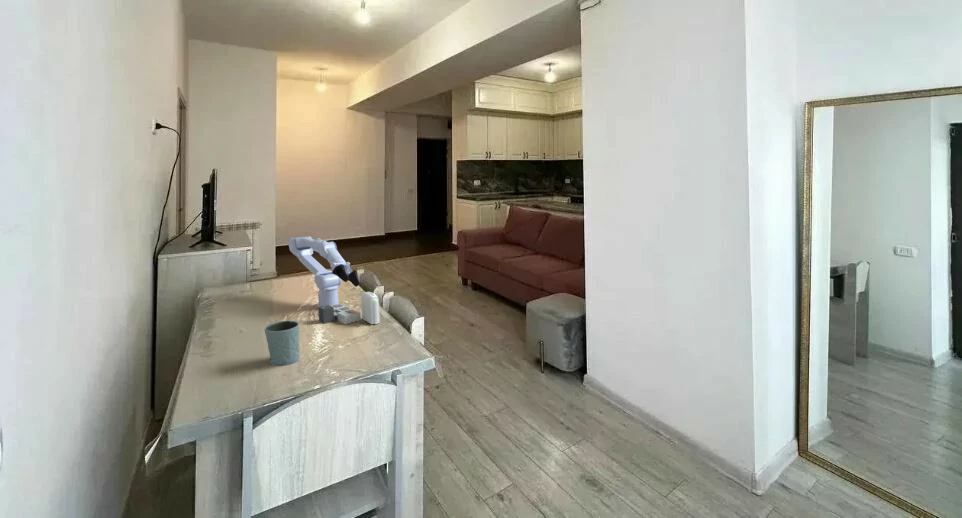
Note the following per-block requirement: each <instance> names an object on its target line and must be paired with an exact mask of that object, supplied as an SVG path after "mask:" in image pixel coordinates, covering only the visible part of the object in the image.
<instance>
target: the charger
mask: <svg viewBox="0 0 962 518" xmlns="http://www.w3.org/2000/svg"><path fill="white" fill-rule="evenodd" d="M317 308H318V322H320V323H322V324H324V325H325V324H328V323H332V322H333V323H334V322H335V319H334V316H336V315H337V312H335V313H334V307H332V306H329V305H326V306H322V307H317Z"/></svg>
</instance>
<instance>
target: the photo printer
mask: <svg viewBox="0 0 962 518" xmlns="http://www.w3.org/2000/svg"><path fill="white" fill-rule="evenodd" d="M360 298H361V318H362V320H363V321H365V322H366V321H367V322H366V323H368V324H369V325H373V324H375V325H379V324H380V322H381V313H380V312H381V311H380V298H379V297H378V296H377V294H375V293H373V292H372V291H365V292H363V293H362V294H361V297H360ZM378 323H379V324H378Z"/></svg>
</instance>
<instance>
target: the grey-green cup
mask: <svg viewBox="0 0 962 518" xmlns="http://www.w3.org/2000/svg"><path fill="white" fill-rule="evenodd" d="M263 330H264V334H265V338H266V342H267V348H268V352H269V357H270V358H269V359H270V363H271V365H273V366H277V367H278V366H279V367H280V366H281V367H282V366H288V365H293V364H295V363H297V362H298V361H299V360H300V346H299V345H300V323H299V322H298V321H296V320H279V321H275V322H271V323H270V324H268V325H266V326H265V327H264V329H263Z"/></svg>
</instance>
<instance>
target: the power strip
mask: <svg viewBox="0 0 962 518" xmlns="http://www.w3.org/2000/svg"><path fill="white" fill-rule="evenodd" d="M331 306H332V307H334V313H335V312H337V315H336V316H334V321H335V320H336V321H338V322H340V323H341V324H344V325H348V323H349V324H352V323H351V322H353V323H356V322H355V321H357V322H360V321H359V320H361V318H362V315H361V312H360V311H358V310H356V309H353V308H351V307H349V306H346V305H344V304H342V303H338V304H335V305H331Z"/></svg>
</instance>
